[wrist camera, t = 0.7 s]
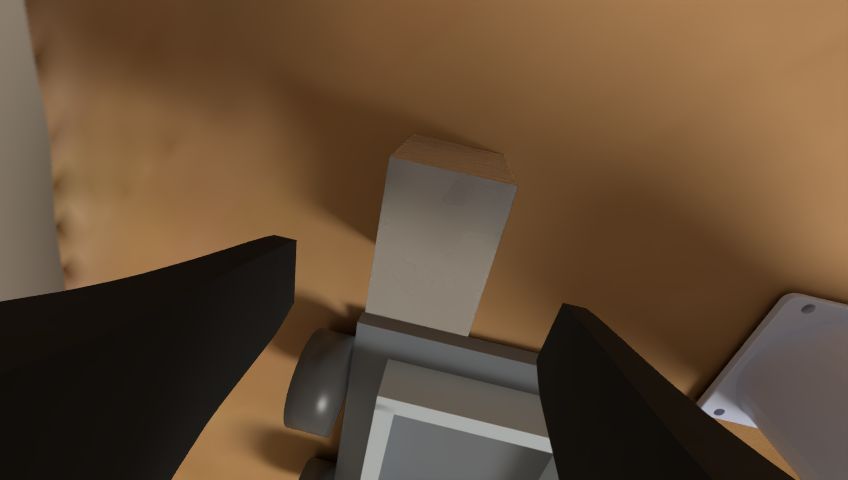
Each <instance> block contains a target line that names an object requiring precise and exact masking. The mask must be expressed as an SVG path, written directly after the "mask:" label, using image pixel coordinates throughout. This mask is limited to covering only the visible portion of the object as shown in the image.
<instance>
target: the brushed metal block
mask: <svg viewBox="0 0 848 480" xmlns="http://www.w3.org/2000/svg"><path fill="white" fill-rule="evenodd" d="M517 188H518V185H517V183H516V181H515V178H514V176H513V174H512V172H511V170H510V168H509V165H508V163H507V161H506V159H505V157H504V154H499V153H495V152H491V151H486V150H482V149H478V148H473V147H469V146H465V145H460V144H456V143H451V142H447V141H443V140H438V139H434V138H430V137H425V136H421V135H417V134H412V135H411V136H410V137H409V138H408V139H407V140H406V141H405V142H404V143H403V144H402V145H401V146H400V147H399V148H398V149H397V150H396V151H395V152H394V153H393V154H392V155H391V156H390V157H389V162H388V169H387V175H386V182H385V188H384V194H383V201H382V207H381V214H380V220H379V226H378V233H377V239H376V246H375V252H374V258H373V265H372V271H371V278H370V284H369V290H368V297H367V303H366V310H365V312H368V313H372V314H376V315H380V316H384V317H388V318H392V319H397V320H401V321H405V322H409V323H413V324H417V325H422V326H426V327H430V328H434V329H438V330H442V331H446V332H451V333H455V334H459V335H463V336H467V337H468V335H469V332H470V329H471V326H472V323H473V320H474V317H475V314H476V311H477V308H478V305H479V302H480V299H481V296H482V293H483V290H484V287H485V284H486V281H487V278H488V275H489V272H490V269H491V266H492V263H493V260H494V257H495V254H496V251H497V248H498V245H499V242H500V239H501V236H502V233H503V230H504V227H505V224H506V221H507V218H508V215H509V212H510V209H511V206H512V203H513V200H514V197H515V194H516V191H517Z"/></svg>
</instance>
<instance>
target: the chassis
mask: <svg viewBox="0 0 848 480" xmlns="http://www.w3.org/2000/svg"><path fill="white" fill-rule="evenodd" d="M538 355H539V354H538V353H534V352H530V351H526V350H522V349H518V348H514V347H509V346H505V345H501V344H497V343H493V342H489V341H485V340H480V339H476V338H472V337H467V336H463V335H459V334H455V333H451V332H446V331H442V330H438V329H434V328H430V327H426V326H422V325H417V324H413V323H409V322H405V321H401V320H397V319H392V318H388V317H384V316H380V315H376V314H372V313H368V312H364V311H363V312H362V314H361V316H360V318H359V320H358V322H357V329H356V336H352V335H348V334H343V333H339V332H335V331H331V330H327V329H323V328H319V329H317V330H316V331H315V332H314V333H313V335H312V336H311V337H310V339H309V341H308V342H307V344H306V346H305V348H304V350H303V352H302V354H301V356H300V358H299V361H298V363H297V366H296V368H295V371H294V374H293V376H292V379H291V383H290V386H289V389H288V393H287V397H286V402H285V408H284V425H285V426H286V427H287V428H291V429H295V430H299V431H303V432H307V433H311V434H315V435H319V436H323V437H328V435H329V434H330V433H331V431H332V429H333V427H334V425H335V423H336V420H337V418H338V415H339V413H340V410H341V407H342V404H343V401H344V398H345V395H346V392H347V397H346V404H345V411H344V418H343V425H342V431H341V438H340V445H339V452H338V459H337V463H334V462H330V461H326V460H322V459H318V458H314V457H311V458H310V459H309V460H308V462H307V463H306V465H305V467H304V469H303V471H302V473H301V475H300V478H299V480H559V478H558V474H557V469H556V465H555V461H554V457H553V453H552V448H551V444H550V440H549V436H548V432H547V427H546V423H545V419H544V414H543V410H542V405H541V401H540V396H539V387H538V377H537V365H536V359H537V357H538ZM347 389H348V390H347Z"/></svg>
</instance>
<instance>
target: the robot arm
mask: <svg viewBox="0 0 848 480" xmlns="http://www.w3.org/2000/svg"><path fill="white" fill-rule="evenodd" d="M296 242H297V240H293V239H289V238H285V237H281V236H276V235H272V236H268V237H264V238H260V239H257V240H253V241H250V242H247V243H243V244H240V245H237V246H234V247H231V248H228V249H225V250H221V251H218V252H215V253H212V254H209V255H206V256H202V257H199V258H196V259H193V260H189V261H186V262H182V263H179V264H175V265H171V266H168V267H164V268H161V269H157V270H154V271H150V272H147V273H143V274H139V275H135V276H131V277H127V278H123V279H118V280H114V281H110V282H105V283H100V284H96V285H91V286H86V287H82V288H77V289H72V290H67V291H62V292H55V293H49V294H43V295H37V296H31V297H26V298H19V299H13V300H7V301H1V302H0V480H171V479H172V477H173V476H174V474H175V473H176V471H177V469H178V468H179V466H180V465H181V463H182V461H183V460H184V458H185V457H186V455H187V454H188V452H189V451H190V449H191V447H192V446H193V444H194V443H195V441H196V440H197V438H198V437H199V435H200V433H201V432H202V430H203V429H204V427H205V426H206V424H207V423H208V421H209V420H210V419H211V417H212V416H213V415H214V413H215V412H216V410H217V409H218V408H219V406H220V405H221V404H222V402H223V401H224V400H225V399H226V397H227V396H228V395H229V393H230V392H231V391H232V390H233V388H234V387H235V386H236V384H237V383H238V382H239V381H240V379H241V378H242V377H243V375H244V374H245V373H246V372H247V370H248V369H249V368H250V367H251V365H252V364H253V363H254V361H255V360H256V359H257V358H258V356H259V355H260V354H261V352H262V351H263V350H264V348H265V347H266V346H267V345H268V343H269V342H270V341H271V339H272V338H273V337H274V335H275V334H276V333H277V331H278V329H279V328H280V326H281V324H282V323H283V321H284V319H285V317H286V316H287V314H288V312H289V310H290V309H291V307H292V305H293V303H294V291H295V266H296ZM805 305H806V306H805ZM804 306H805V307H804ZM803 307H804V308H803ZM536 365H537V377H538V387H539V396H540V401H541V405H542V410H543V414H544V419H545V423H546V427H547V432H548V436H549V440H550V444H551V448H552V453H553V457H554V461H555V465H556V469H557V474H558V478H559V480H795V479H794V478H792V477H791V476H790V475H788V474H787V473H785V472H784V471H783V470H781V469H780V468H778V467H777V466H776V465H774V464H773V463H771V462H770V461H769V460H767V459H766V458H765V457H763V456H762V455H761V454H759V453H758V452H757V451H755V450H754V449H753V448H751V447H750V446H749V445H747V444H746V443H745V442H743V441H742V440H741V439H739V438H738V437H737V436H735V435H734V434H733V433H731V432H730V431H729V430H727V429H726V428H725V427H723V426H722V425H721V424H720V423H718V422H717V421H716V420H715V419H713V418H712V417H714V418H718V419H722V420H726V421H730V422H734V423H738V424H743V425H747V426H751V427H755V428H758V429H759V430H760V431H761V432H762V433H763V435H764V436H765V437H766V438H767V439H768V441H769V442H770V443H771V444H772V445H773V447H774V448H775V449H776V450H777V451H778V453H779V454H780V455H781V456H782V457H783V459H784V460H785V461H786V462H787V463H788V465H789V466H790V467H791V468H792V469H793V471H794V472H795V473H796V474H797V475H798V477H799V478H800V479H801V480H848V305H847V304H842V303H838V302H834V301H830V300H825V299H821V298H817V297H812V296H808V295H804V294H800V293H790V294H787V295H785V296H783V297H782V298H781V299H780V300H779V301H778V302H777V304H776V305H775V306H774V307H773V308H772V310H771V311H770V312H769V313H768V315H767V316H766V317H765V318H764V320H763V321H762V322H761V323H760V325H759V326H758V327H757V328H756V330H755V331H754V332H753V333H752V335H751V336H750V337H749V338H748V339H747V341H746V342H745V343H744V344H743V346H742V347H741V348H740V349H739V351H738V352H737V353H736V354H735V356H734V357H733V358H732V359H731V361H730V362H729V363H728V364H727V366H726V367H725V368H724V369H723V370H722V372H721V373H720V374H719V375H718V377H717V378H716V379H715V380H714V382H713V383H712V384H711V385H710V387H709V388H708V389H707V390H706V392H705V393H704V394H703V395H702V397H701V398H700V399H699V400H698V401H697V403H696V404H695V403H694V402H693V401H691V400H690V399H689V398H688V397H687V396H686V395H684V394H683V393H682V392H681V391H680V390H678V389H677V388H676V387H675V386H674V385H672V384H671V383H670V382H669V381H668V380H667V379H666V378H664V377H663V376H662V375H661V374H660V373H659V372H658V371H657V370H655V369H654V368H653V367H652V366H651V365H650V364H649V363H648V362H646V361H645V360H644V359H643V358H642V357H641V356H640V355H639V354H638V353H637V352H635V351H634V350H633V349H632V348H631V347H630V346H629V345H628V344H627V343H626V342H625V341H623V340H622V339H621V338H620V337H619V336H618V335H617V334H616V333H615V332H614V331H612V330H611V329H610V328H609V327H608V326H607V325H606V324H605V323H603V322H602V321H601V320H600V319H599V318H598V317H596V316H595V315H594V314H593V313H591V312H590V311H589V310H587V309H586V308H582V307H578V306H574V305H569V304H565V303H563V304H562V306H561V308H560V310H559V312H558V314H557V317H556V319H555V321H554V323H553V325H552V327H551V329H550V332H549V334H548V336H547V338H546V340H545V342H544V344H543V347H542V349H541V351H540V353H539V355H538V357H537V359H536Z"/></svg>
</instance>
